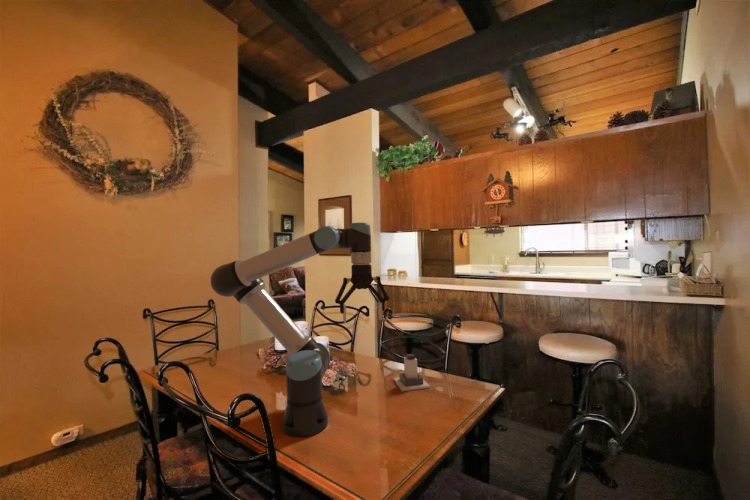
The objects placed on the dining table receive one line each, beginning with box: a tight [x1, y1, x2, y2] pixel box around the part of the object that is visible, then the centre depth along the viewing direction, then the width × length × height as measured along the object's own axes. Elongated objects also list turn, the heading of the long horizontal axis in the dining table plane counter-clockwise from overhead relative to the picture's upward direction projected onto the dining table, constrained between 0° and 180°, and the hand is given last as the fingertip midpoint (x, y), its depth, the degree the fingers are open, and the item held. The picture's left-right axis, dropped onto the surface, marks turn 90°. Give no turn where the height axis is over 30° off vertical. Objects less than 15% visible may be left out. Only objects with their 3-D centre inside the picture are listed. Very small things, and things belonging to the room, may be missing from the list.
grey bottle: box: [403, 353, 419, 379], centre depth 145 cm, size 4×4×12 cm
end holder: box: [393, 372, 431, 392], centre depth 145 cm, size 12×12×4 cm
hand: (362, 320), depth 126 cm, fingers open, 13 cm apart
